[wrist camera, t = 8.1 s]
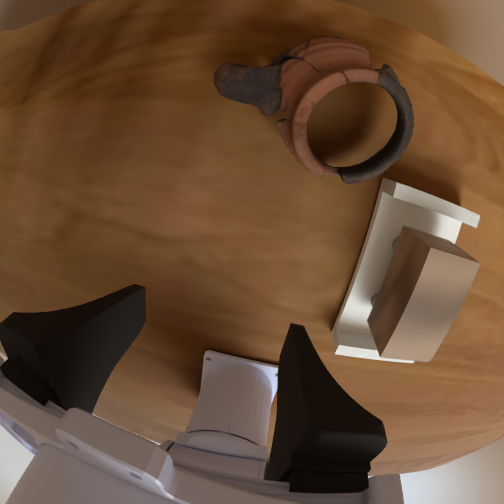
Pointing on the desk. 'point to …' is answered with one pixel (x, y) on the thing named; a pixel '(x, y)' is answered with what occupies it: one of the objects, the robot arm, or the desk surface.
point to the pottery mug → (317, 97)
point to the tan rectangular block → (420, 296)
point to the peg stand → (389, 257)
